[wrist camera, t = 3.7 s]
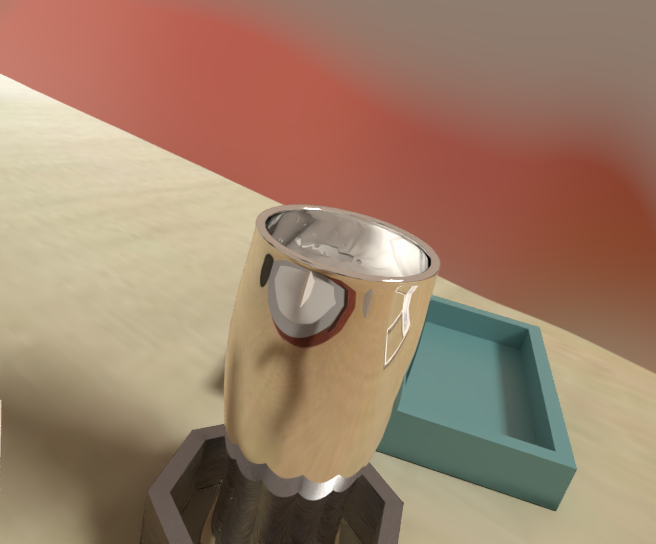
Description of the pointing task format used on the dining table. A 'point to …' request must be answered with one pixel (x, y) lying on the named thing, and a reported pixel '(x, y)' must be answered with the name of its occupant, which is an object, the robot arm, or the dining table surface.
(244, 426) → the silver metal tumbler
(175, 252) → the dining table surface
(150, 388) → the dining table surface
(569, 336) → the dining table surface
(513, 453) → the tray
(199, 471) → the holder ring
